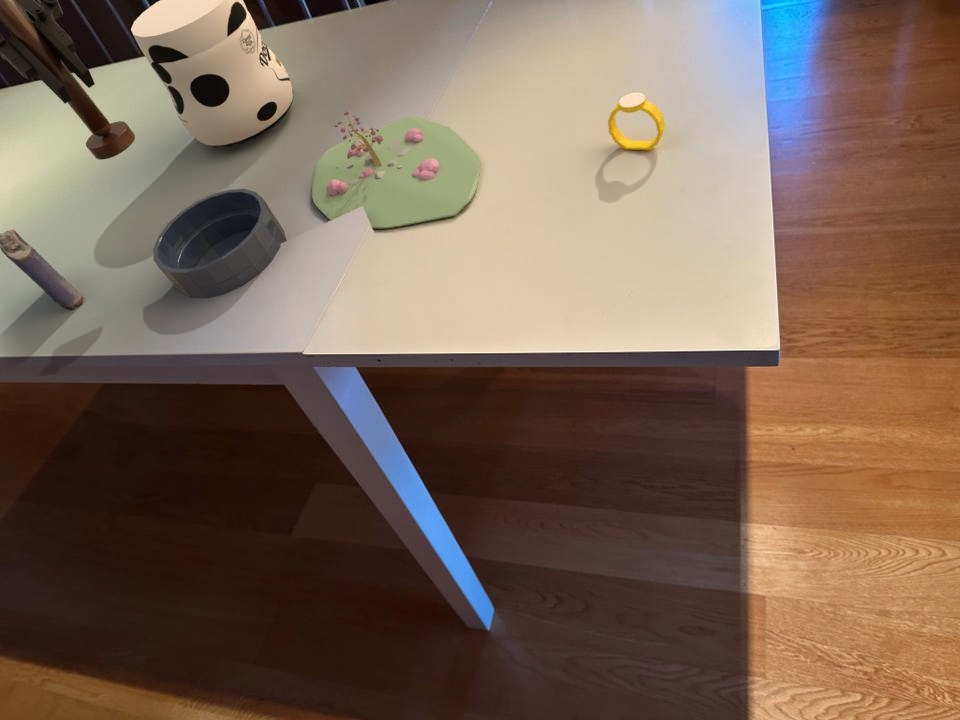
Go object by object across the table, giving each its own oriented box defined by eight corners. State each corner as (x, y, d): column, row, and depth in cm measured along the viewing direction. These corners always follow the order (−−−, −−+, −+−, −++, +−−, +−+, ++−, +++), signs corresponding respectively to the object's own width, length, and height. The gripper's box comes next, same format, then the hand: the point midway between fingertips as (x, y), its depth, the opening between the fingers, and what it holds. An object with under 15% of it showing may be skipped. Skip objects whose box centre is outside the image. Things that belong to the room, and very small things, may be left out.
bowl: (186, 326, 77) (154, 291, 72) (181, 257, 86) (152, 221, 81) (298, 275, 77) (272, 236, 72) (280, 211, 86) (257, 173, 82)
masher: (94, 165, 74) (-60, -18, 59) (95, 145, 77) (-51, -33, 63) (135, 146, 74) (-8, -41, 59) (135, 127, 78) (-1, -55, 63)
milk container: (322, 92, 104) (264, -29, 90) (256, 162, 96) (181, 41, 82) (245, 89, 112) (181, -22, 98) (178, 154, 104) (98, 42, 90)
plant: (525, 134, 82) (508, 66, 75) (436, 248, 73) (408, 181, 67) (374, 118, 95) (347, 57, 88) (282, 213, 86) (245, 154, 79)
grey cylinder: (88, 300, 85) (22, 237, 77) (68, 315, 84) (0, 254, 76) (62, 276, 91) (-1, 215, 83) (44, 290, 90) (-23, 230, 82)
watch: (668, 141, 74) (665, 93, 70) (660, 157, 73) (656, 108, 68) (617, 137, 77) (612, 90, 72) (608, 152, 76) (602, 105, 71)
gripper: (-23, -106, 70) (144, 66, 73) (-162, -35, 66) (22, 147, 69) (-53, -169, 63) (132, 25, 66) (-212, -94, 59) (-4, 111, 61)
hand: (76, 86), depth 67 cm, fingers closed on masher, 2 cm apart
